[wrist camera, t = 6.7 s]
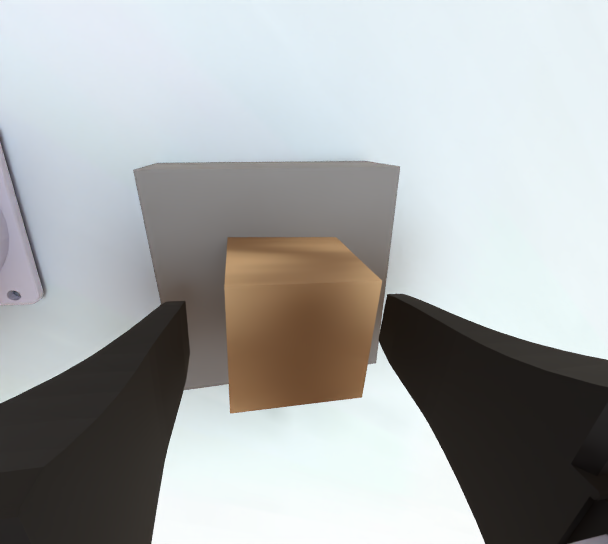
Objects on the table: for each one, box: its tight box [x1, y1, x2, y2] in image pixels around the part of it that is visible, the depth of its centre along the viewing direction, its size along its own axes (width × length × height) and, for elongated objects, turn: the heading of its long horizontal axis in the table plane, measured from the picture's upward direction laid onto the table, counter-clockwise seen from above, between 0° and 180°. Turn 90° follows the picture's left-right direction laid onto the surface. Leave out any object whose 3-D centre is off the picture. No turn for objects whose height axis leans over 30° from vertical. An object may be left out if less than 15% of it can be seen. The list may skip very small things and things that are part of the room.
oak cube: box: [224, 237, 382, 413], centre depth 11 cm, size 4×4×4 cm
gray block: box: [133, 161, 400, 390], centre depth 15 cm, size 10×10×4 cm
